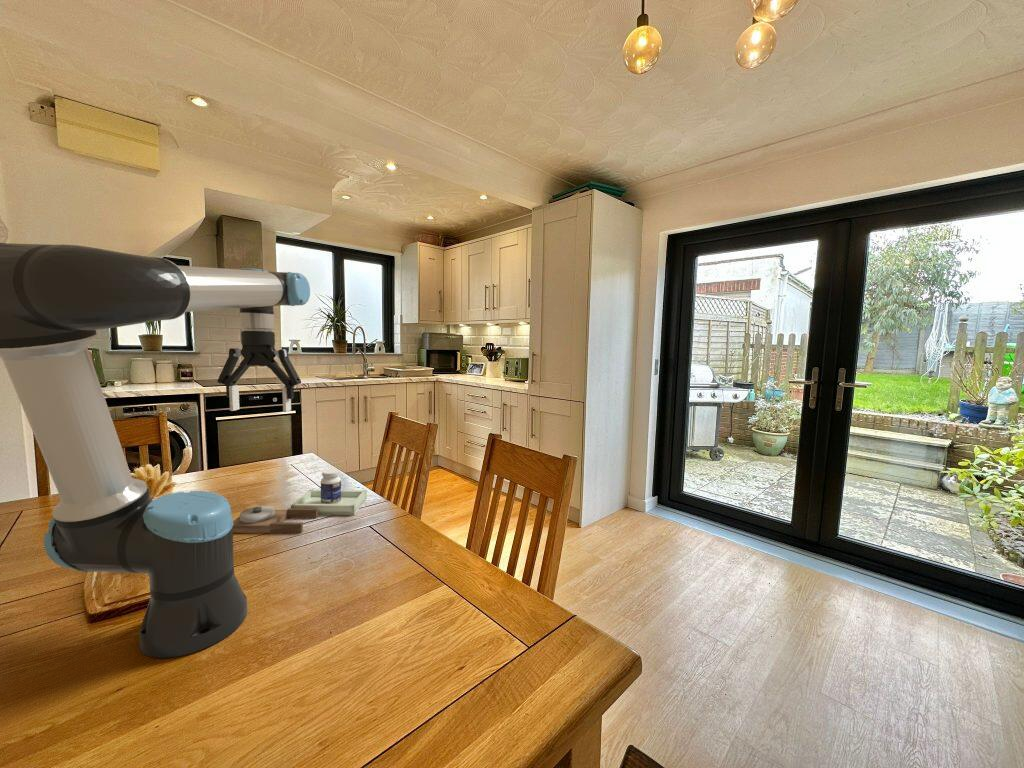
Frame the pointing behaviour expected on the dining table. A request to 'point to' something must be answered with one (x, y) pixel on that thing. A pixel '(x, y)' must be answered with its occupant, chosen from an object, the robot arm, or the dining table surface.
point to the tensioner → (271, 520)
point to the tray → (346, 507)
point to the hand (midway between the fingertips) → (261, 410)
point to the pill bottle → (330, 487)
